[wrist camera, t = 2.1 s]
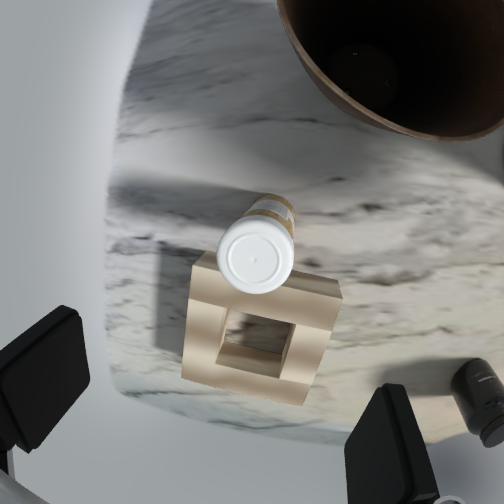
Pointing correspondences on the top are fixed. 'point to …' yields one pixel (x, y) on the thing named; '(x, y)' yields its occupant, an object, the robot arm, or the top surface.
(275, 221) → the sprinkles bottle
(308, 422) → the top surface
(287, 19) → the plant pot
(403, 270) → the top surface
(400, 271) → the top surface
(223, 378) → the socket block
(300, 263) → the top surface
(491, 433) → the supplement bottle
